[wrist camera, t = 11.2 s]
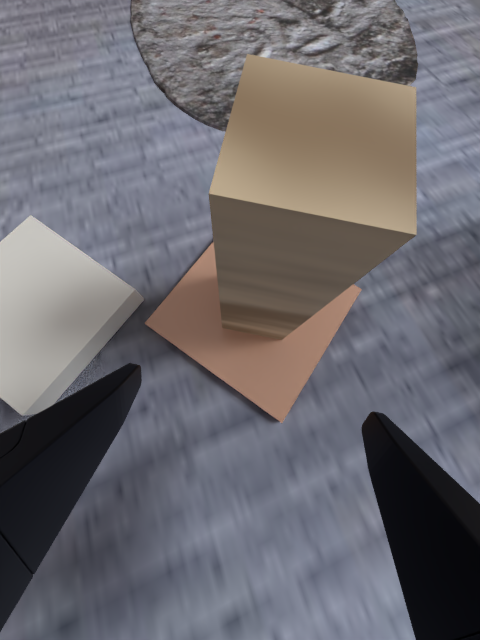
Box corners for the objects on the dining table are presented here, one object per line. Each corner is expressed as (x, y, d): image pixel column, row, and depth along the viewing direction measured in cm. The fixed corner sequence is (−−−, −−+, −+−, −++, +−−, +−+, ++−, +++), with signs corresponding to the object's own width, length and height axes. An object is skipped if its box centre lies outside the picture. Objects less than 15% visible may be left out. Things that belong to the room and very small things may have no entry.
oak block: (281, 340, 18) (416, 234, 5) (222, 328, 18) (208, 193, 5) (290, 284, 19) (416, 87, 6) (234, 273, 19) (247, 53, 6)
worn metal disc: (285, -85, 34) (286, -90, 34) (469, 60, 28) (472, 56, 28) (67, -18, 28) (65, -23, 28) (243, 188, 22) (243, 185, 22)
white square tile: (46, 411, 16) (22, 416, 14) (-55, 328, 17) (-91, 321, 15) (144, 299, 19) (135, 289, 17) (50, 231, 20) (30, 215, 18)
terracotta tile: (279, 421, 17) (281, 423, 16) (147, 325, 18) (144, 323, 17) (357, 292, 20) (361, 289, 19) (237, 216, 21) (238, 211, 20)
